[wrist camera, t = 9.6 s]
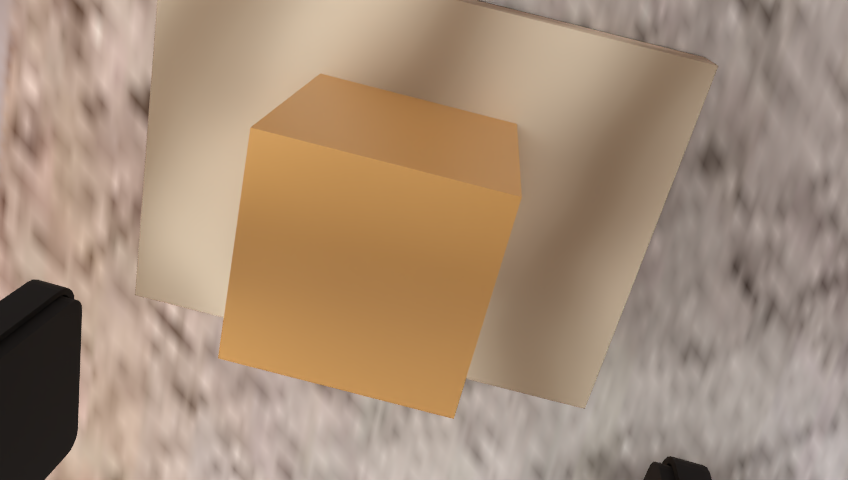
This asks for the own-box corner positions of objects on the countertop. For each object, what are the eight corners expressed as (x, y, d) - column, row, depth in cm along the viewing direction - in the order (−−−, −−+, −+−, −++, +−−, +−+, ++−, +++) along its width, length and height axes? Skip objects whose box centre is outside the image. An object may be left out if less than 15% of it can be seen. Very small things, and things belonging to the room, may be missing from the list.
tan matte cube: (517, 123, 22) (521, 197, 16) (466, 297, 24) (453, 418, 18) (320, 73, 22) (250, 127, 16) (289, 252, 24) (218, 358, 18)
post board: (704, 57, 22) (772, 99, 16) (580, 383, 27) (600, 502, 21) (184, -74, 22) (76, -75, 16) (154, 276, 27) (62, 366, 21)
